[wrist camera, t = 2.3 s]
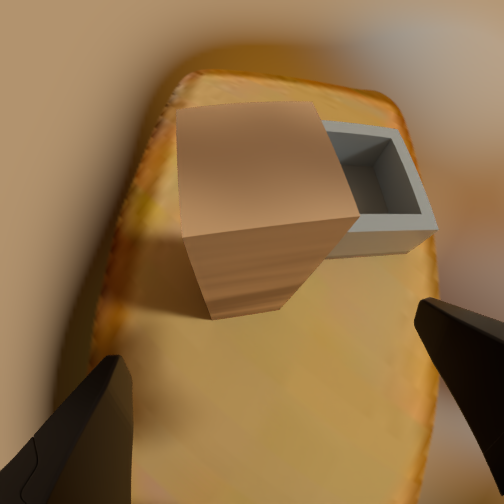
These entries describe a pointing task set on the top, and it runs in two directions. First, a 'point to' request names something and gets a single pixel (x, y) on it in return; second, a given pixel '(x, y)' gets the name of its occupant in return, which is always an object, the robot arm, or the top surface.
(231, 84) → the top surface
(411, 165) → the slate well
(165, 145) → the top surface
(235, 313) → the walnut block
